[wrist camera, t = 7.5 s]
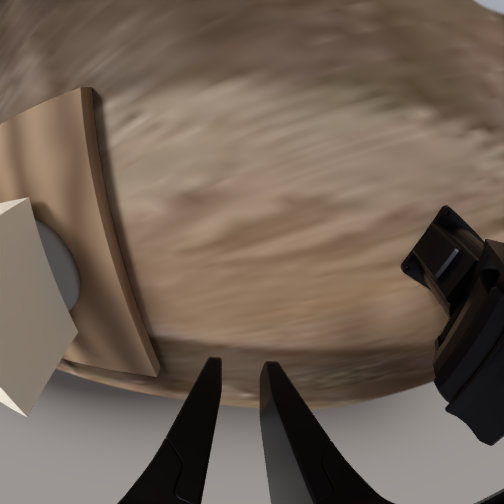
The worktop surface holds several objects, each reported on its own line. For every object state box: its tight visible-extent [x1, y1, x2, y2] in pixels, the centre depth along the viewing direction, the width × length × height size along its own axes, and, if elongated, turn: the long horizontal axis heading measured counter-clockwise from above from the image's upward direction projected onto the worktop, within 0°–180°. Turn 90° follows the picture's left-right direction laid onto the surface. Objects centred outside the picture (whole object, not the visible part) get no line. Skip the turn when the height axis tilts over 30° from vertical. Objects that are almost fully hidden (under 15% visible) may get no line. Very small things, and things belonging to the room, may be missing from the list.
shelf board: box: [0, 87, 161, 377], centre depth 21 cm, size 18×28×6 cm, turn 3°
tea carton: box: [0, 197, 81, 417], centre depth 16 cm, size 10×14×12 cm
